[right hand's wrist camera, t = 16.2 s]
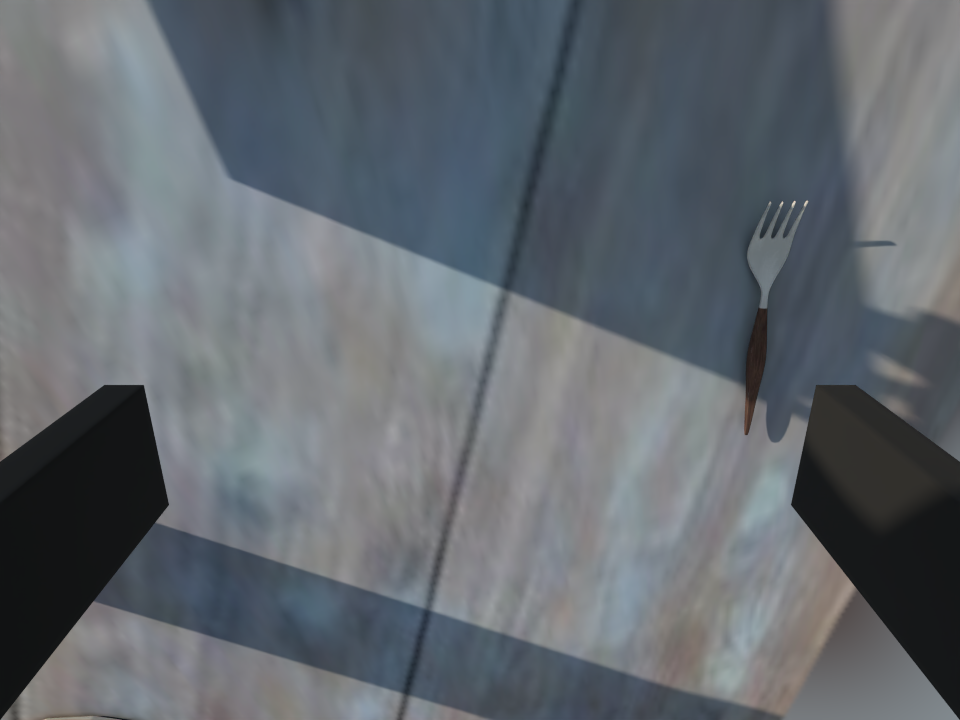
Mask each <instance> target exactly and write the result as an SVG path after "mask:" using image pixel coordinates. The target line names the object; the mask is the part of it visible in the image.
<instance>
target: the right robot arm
mask: <svg viewBox="0 0 960 720" xmlns="http://www.w3.org/2000/svg"><path fill="white" fill-rule="evenodd" d="M168 505H169V503H168V498H167V494H166V489H165V484H164V479H163V474H162V470H161V465H160V460H159V455H158V451H157V446H156V441H155V436H154V432H153V427H152V422H151V417H150V413H149V408H148V403H147V398H146V394H145V389H144V385H104V386H103V387H101V388H100V389H99V390H97V391H96V392H94V393H93V394H92V395H90V396H89V397H88V398H86V399H85V400H84V401H82V402H81V403H80V404H78V405H77V406H75V407H74V408H73V409H71V410H70V411H69V412H67V413H66V414H65V415H63V416H62V417H61V418H59V419H58V420H56V421H55V422H54V423H52V424H51V425H50V426H48V427H47V428H46V429H44V430H43V431H42V432H40V433H39V434H37V435H36V436H35V437H33V438H32V439H31V440H29V441H28V442H27V443H25V444H24V445H23V446H21V447H20V448H18V449H17V450H16V451H14V452H13V453H12V454H10V455H9V456H8V457H6V458H5V459H4V460H2V461H1V462H0V719H1V718H2V717H3V716H4V714H5V713H6V712H7V710H8V709H9V708H10V707H11V705H12V704H13V703H14V702H15V700H16V699H17V698H18V696H19V695H20V694H21V693H22V691H23V690H24V689H25V688H26V686H27V685H28V684H29V682H30V681H31V680H32V679H33V677H34V676H35V675H36V674H37V672H38V671H39V670H40V668H41V667H42V666H43V665H44V663H45V662H46V661H47V660H48V658H49V657H50V656H51V654H52V653H53V652H54V651H55V649H56V648H57V647H58V646H59V644H60V643H61V642H62V640H63V639H64V638H65V637H66V635H67V634H68V633H69V632H70V630H71V629H72V628H73V626H74V625H75V624H76V623H77V621H78V620H79V619H80V617H81V616H82V615H83V614H84V612H85V611H86V610H87V609H88V607H89V606H90V605H91V603H92V602H93V601H94V600H95V598H96V597H97V596H98V595H99V593H100V592H101V591H102V589H103V588H104V587H105V586H106V584H107V583H108V582H109V581H110V579H111V578H112V577H113V575H114V574H115V573H116V572H117V570H118V569H119V568H120V567H121V565H122V564H123V563H124V561H125V560H126V559H127V558H128V556H129V555H130V554H131V553H132V551H133V550H134V549H135V547H136V546H137V545H138V544H139V542H140V541H141V540H142V538H143V537H144V536H145V535H146V533H147V532H148V531H149V530H150V528H151V527H152V526H153V524H154V523H155V522H156V521H157V519H158V518H159V517H160V516H161V514H162V513H163V512H164V510H165V509H166V508H167V507H168ZM791 505H792V507H793V508H794V509H795V510H796V512H797V513H798V514H799V516H800V517H801V518H802V519H803V521H804V522H805V523H806V524H807V526H808V527H809V528H810V530H811V531H812V532H813V533H814V535H815V536H816V537H817V538H818V540H819V541H820V542H821V544H822V545H823V546H824V547H825V549H826V550H827V551H828V553H829V554H830V555H831V556H832V558H833V559H834V560H835V561H836V563H837V564H838V565H839V567H840V568H841V569H842V570H843V572H844V573H845V574H846V575H847V577H848V578H849V579H850V581H851V582H852V583H853V584H854V586H855V587H856V588H857V589H858V591H859V592H860V593H861V595H862V596H863V597H864V598H865V600H866V601H867V602H868V603H869V605H870V606H871V607H872V609H873V610H874V611H875V612H876V614H877V615H878V616H879V617H880V619H881V620H882V621H883V623H884V624H885V625H886V626H887V628H888V629H889V630H890V632H891V633H892V634H893V635H894V637H895V638H896V639H897V640H898V642H899V643H900V644H901V646H902V647H903V648H904V649H905V651H906V652H907V653H908V654H909V656H910V657H911V658H912V660H913V661H914V662H915V663H916V665H917V666H918V667H919V668H920V670H921V671H922V672H923V674H924V675H925V676H926V677H927V679H928V680H929V681H930V682H931V684H932V685H933V686H934V688H935V689H936V690H937V691H938V693H939V694H940V695H941V696H942V698H943V699H944V700H945V701H946V703H947V704H948V705H949V707H950V708H951V709H952V710H953V712H954V713H955V714H956V715H957V717H958V718H959V719H960V462H959V461H958V460H956V459H955V458H954V457H952V456H951V455H950V454H948V453H947V452H946V451H944V450H943V449H942V448H940V447H939V446H937V445H936V444H935V443H933V442H932V441H931V440H929V439H928V438H927V437H925V436H924V435H923V434H921V433H920V432H918V431H917V430H916V429H914V428H913V427H912V426H910V425H909V424H908V423H906V422H905V421H904V420H902V419H901V418H899V417H898V416H897V415H895V414H894V413H893V412H891V411H890V410H889V409H887V408H886V407H885V406H883V405H882V404H880V403H879V402H878V401H876V400H875V399H874V398H872V397H871V396H870V395H868V394H867V393H866V392H864V391H863V390H861V389H860V388H859V387H857V386H856V385H816V389H815V394H814V398H813V403H812V408H811V413H810V417H809V422H808V427H807V432H806V436H805V441H804V446H803V451H802V455H801V460H800V465H799V470H798V474H797V479H796V484H795V489H794V494H793V498H792V503H791Z"/></svg>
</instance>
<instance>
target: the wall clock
mask: <svg viewBox="0 0 960 720" xmlns="http://www.w3.org/2000/svg"><path fill="white" fill-rule="evenodd" d="M44 720H120V719H112V718H105V717H97V716H83V717H65V718H48V719H44Z"/></svg>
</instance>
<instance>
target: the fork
mask: <svg viewBox="0 0 960 720" xmlns="http://www.w3.org/2000/svg"><path fill="white" fill-rule="evenodd" d="M795 203H796V201H794V202H793V204H792V206H791V207H790V209H789V211H788V213H787V215H786V217H785V219H784V220H783V222H782V224H781V226H780V228H779V230H778V232H777V234H776V236H775V237H774V238H771V235H772V231H773V228H774V226H775V223H776V220H777V218H778V215H779V213H780V210H781V208H782V205H783V201H782V202H781V204H780V206H779V208H778V209H777V211H776V213H775V215H774V217H773V219H772V221H771V223H770V225H769V227H768V229H767V231H766V233H765V235H764V237H763V238H761V239H760V232H761V229H762V226H763V224H764V221H765V218H766V215H767V213H768V210H769V207H770V205H771V202H769V204H768V206H767V208H766V210H765V212H764V214H763V216H762V218H761V220H760V222H759V224H758V226H757V228H756V230H755V233H754V235H753V237H752V240H751V242H750V244H749V247H748V251H747V260H748V264H749V267H750V269H751V271H752V273H753V274H754V276H755V278H756V280H757V282H758V284H759V286H760V289H761V300H760V304H759V308H758V312H757V316H756V320H755V324H754V328H753V331H752V335H751V339H750V344H749V348H748V353H747V362H746V402H745V425H744V432H745V435H748V432H749V429H750V425H751V421H752V417H753V412H754V408H755V403H756V399H757V395H758V391H759V387H760V383H761V379H762V375H763V371H764V366H765V360H766V348H767V303H768V294H769V290H770V288H771V285H772V283H773V282H774V280H775V278H776V276H777V275H778V273H779V272H780V270H781V268H782V266H783V265H784V263H785V261H786V259H787V256H788V254H789V251H790V248H791V245H792V241H793V237H794V234H795V232H796V229H797V227H798V224H799V222H800V219H801V217H802V215H803V212H804V210H805V208H806V206H807V204H808V200H807V201H806V202H805V204H804V206H803V207H802V209H801V211H800V213H799V214H798V216H797V218H796V220H795V222H794V224H793V226H792V228H791V230H790V231H789V233H788V235H787V236H786V237H785V238H783V233H784V230H785V227H786V225H787V222H788V220H789V217H790V215H791V212H792V210H793V208H794V205H795Z"/></svg>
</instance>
